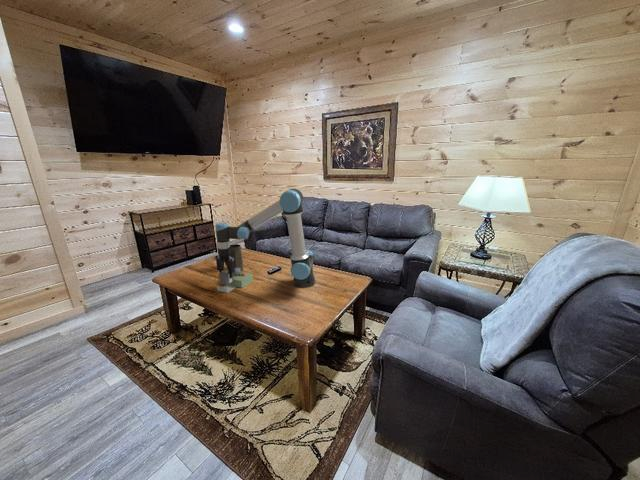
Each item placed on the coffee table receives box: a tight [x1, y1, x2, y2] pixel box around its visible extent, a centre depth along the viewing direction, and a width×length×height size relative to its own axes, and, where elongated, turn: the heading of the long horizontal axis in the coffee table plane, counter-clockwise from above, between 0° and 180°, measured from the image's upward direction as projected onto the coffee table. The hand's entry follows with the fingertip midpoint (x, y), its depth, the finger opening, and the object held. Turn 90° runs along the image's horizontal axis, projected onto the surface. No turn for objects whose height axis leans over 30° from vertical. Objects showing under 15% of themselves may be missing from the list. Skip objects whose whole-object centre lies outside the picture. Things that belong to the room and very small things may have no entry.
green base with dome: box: [216, 268, 254, 294], centre depth 176 cm, size 16×22×9 cm
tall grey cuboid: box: [218, 269, 234, 286], centre depth 170 cm, size 5×7×7 cm
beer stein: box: [224, 243, 244, 272], centre depth 200 cm, size 15×11×20 cm
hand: (226, 281), depth 171 cm, fingers closed on tall grey cuboid, 5 cm apart
